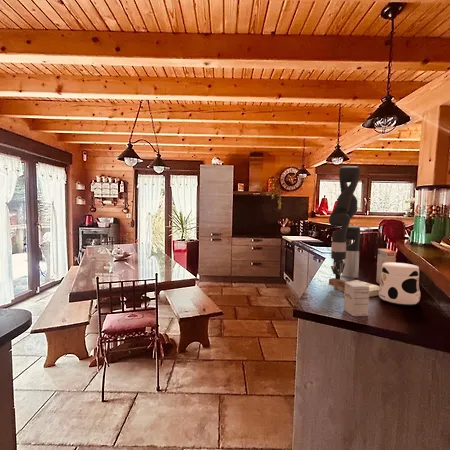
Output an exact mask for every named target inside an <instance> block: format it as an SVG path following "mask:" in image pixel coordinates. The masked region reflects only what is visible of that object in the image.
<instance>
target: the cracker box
mask: <svg viewBox="0 0 450 450" xmlns="http://www.w3.org/2000/svg"><path fill="white" fill-rule="evenodd" d="M396 256H397V252H396V251H394V250H391V249H389V248H377V262H376V263H377V264H376V278H375V279H376V283H377V284H378V286H380V283H381V272H382V264H383V263H397V262H396V261H397V257H396Z"/></svg>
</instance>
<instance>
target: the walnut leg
mask: <svg viewBox="0 0 450 450" xmlns="http://www.w3.org/2000/svg"><path fill="white" fill-rule="evenodd" d="M350 281H351V280H345V279H341V278H340V279H335V277H332V278H329V279H328V285H330V286H333V287H334V286H338V287H342V288H345V282H350Z"/></svg>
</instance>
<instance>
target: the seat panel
mask: <svg viewBox="0 0 450 450" xmlns="http://www.w3.org/2000/svg"><path fill="white" fill-rule="evenodd" d="M349 281H350V282H361V283H363V284H365V285H367V286H369V298H370V297H376V296H379V286H380V285H377V284H373V283H369V282H365V281H361V280H358V279H354V280H349ZM333 289H334V290H337V291H341V292H343V293H345V288H342V287H338V286H333Z"/></svg>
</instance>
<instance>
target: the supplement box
mask: <svg viewBox="0 0 450 450" xmlns="http://www.w3.org/2000/svg"><path fill="white" fill-rule="evenodd" d="M343 300H344V301H343V311H345V312H347V313H348V314H349V315H350V316H352V317H361V316H362V317H364V316H365V317H366V316H369V304H370V303H369V300H370V297H369V286H367V285H365V284H363V283H361V282H345V292H344V298H343Z"/></svg>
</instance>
